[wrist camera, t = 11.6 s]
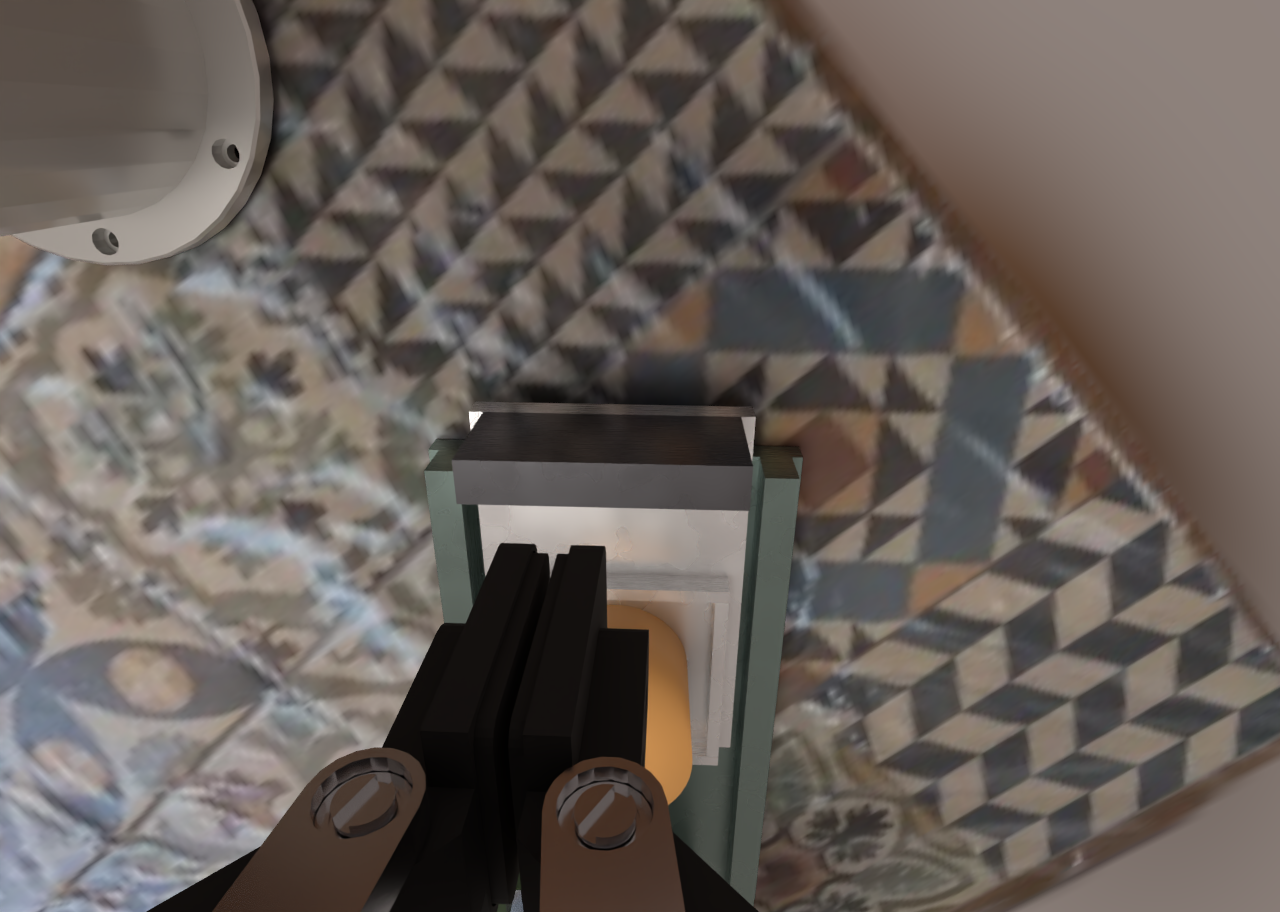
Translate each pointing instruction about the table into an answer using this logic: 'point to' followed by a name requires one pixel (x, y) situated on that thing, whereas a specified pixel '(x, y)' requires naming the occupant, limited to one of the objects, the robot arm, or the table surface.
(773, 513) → the press
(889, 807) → the table surface
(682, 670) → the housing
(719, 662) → the sliding bed
